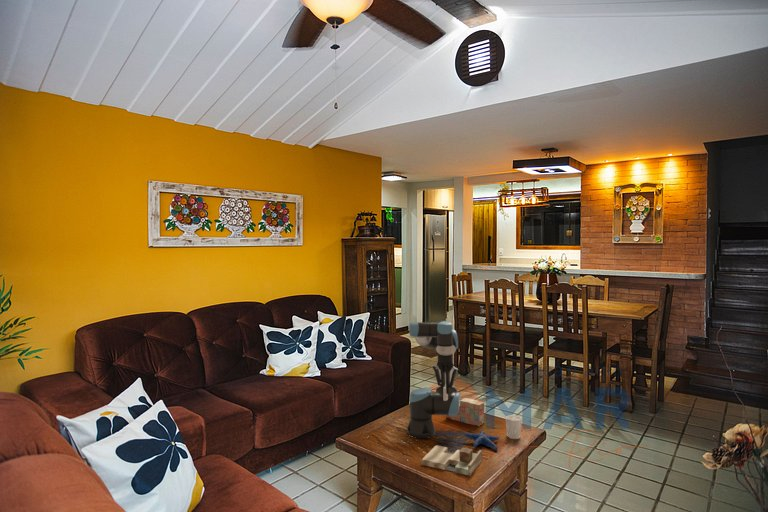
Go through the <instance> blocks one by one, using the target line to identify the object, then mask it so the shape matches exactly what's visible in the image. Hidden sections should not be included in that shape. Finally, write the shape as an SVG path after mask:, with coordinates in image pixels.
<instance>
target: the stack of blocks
mask: <svg viewBox="0 0 768 512" xmlns="http://www.w3.org/2000/svg"><path fill="white" fill-rule="evenodd" d="M446 419H449V420H452V421H456V422H461V423H463V424H468V425H469V424H470V425H472V426H475V425H477V426H476V427H481V426H482V425H483V423H484V424H485V401H480V400H478V399H473V398H467V397H463V398H462V399H460V402H459V411H458V414H457V415H451V416H449V415H446ZM480 425H481V426H480Z"/></svg>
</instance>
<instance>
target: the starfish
mask: <svg viewBox="0 0 768 512" xmlns="http://www.w3.org/2000/svg"><path fill="white" fill-rule="evenodd" d="M464 436H465V437H467V438H468V439H470V440H473V447H474V448H476V447H478V446H479V445H481V446H486V447H487V448H489V447H490V449H492V450H493V451H495V452H498V450H499V448H498V446H497V444H495V443H494V442H495V441H498V440H499V439H500V437H499V436H495V435H489V434H487V433H486V434H485V431H484V430H481V431H480V432H479V433H468V432H464Z"/></svg>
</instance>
